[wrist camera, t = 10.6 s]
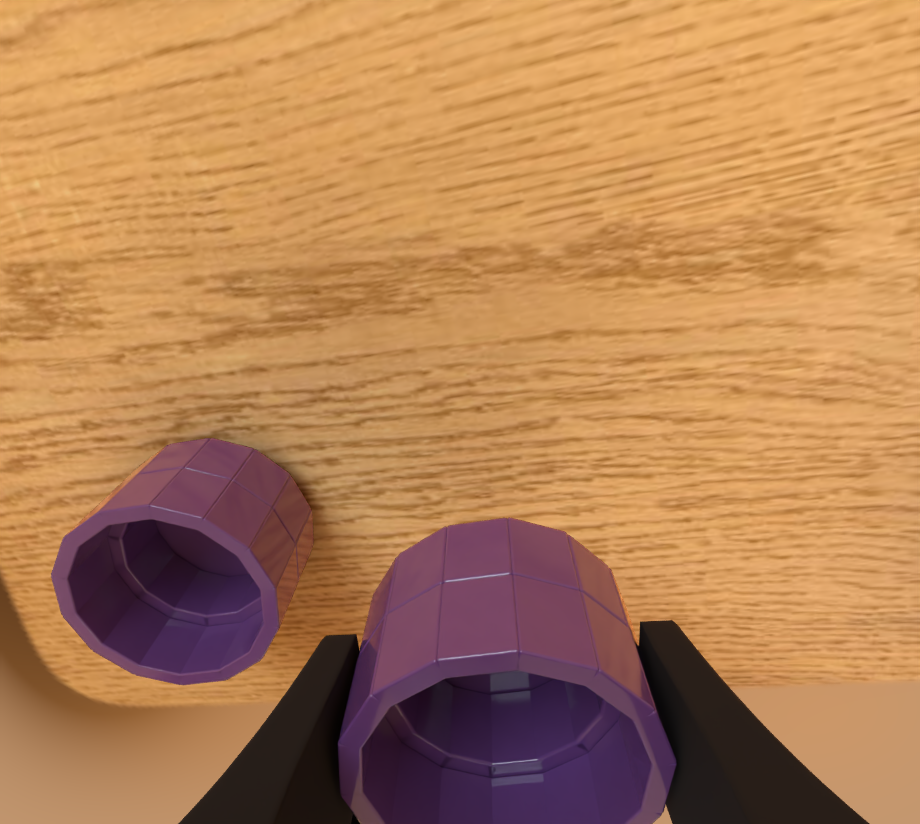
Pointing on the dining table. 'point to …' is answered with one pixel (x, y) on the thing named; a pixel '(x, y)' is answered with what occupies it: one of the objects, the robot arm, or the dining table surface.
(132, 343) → the dining table surface
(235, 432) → the dining table surface
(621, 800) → the purple cup
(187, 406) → the dining table surface
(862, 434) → the dining table surface
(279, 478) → the purple faceted cup
